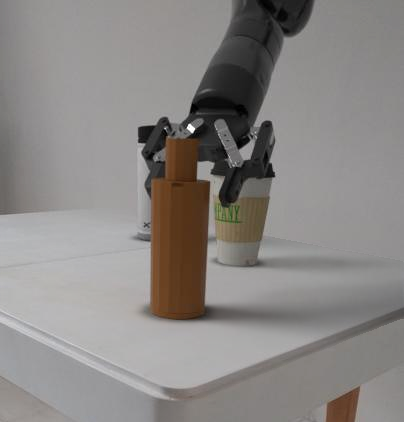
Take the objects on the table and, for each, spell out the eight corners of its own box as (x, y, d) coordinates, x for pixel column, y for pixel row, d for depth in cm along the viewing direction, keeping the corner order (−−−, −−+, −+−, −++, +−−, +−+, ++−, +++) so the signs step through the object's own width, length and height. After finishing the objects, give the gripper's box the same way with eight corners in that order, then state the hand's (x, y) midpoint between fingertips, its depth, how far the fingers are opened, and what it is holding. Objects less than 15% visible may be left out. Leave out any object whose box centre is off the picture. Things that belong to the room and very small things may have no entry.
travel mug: (148, 242, 102) (149, 122, 95) (131, 236, 107) (131, 122, 100) (177, 240, 105) (180, 124, 98) (160, 234, 110) (162, 124, 103)
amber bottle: (206, 305, 66) (213, 139, 59) (202, 320, 60) (210, 139, 53) (155, 302, 66) (157, 137, 59) (146, 317, 60) (147, 136, 54)
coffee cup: (207, 254, 94) (211, 159, 89) (266, 257, 94) (273, 161, 88) (205, 266, 85) (209, 161, 80) (270, 269, 85) (279, 164, 79)
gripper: (296, 117, 66) (255, 228, 61) (187, 113, 71) (140, 215, 66) (288, 61, 60) (241, 179, 54) (169, 61, 65) (115, 169, 59)
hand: (186, 199), depth 60 cm, fingers open, 8 cm apart
